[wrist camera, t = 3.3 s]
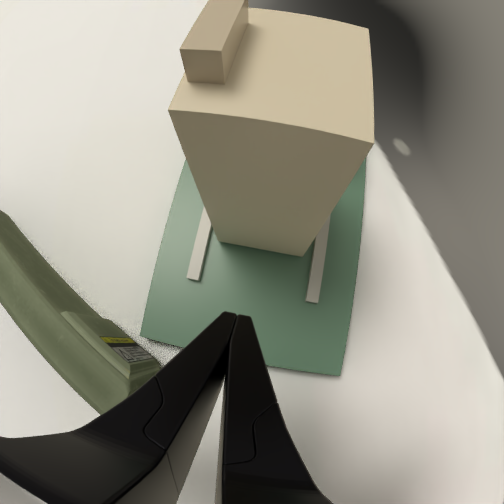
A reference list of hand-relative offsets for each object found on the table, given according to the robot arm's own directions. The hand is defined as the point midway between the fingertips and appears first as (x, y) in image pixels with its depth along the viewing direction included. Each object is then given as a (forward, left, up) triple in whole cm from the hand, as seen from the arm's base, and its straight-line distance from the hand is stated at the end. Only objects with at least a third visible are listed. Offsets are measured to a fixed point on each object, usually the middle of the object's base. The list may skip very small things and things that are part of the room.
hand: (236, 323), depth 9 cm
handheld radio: (-15, +4, -10) cm, 19 cm away
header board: (+2, +8, -10) cm, 12 cm away
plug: (+2, +7, -8) cm, 11 cm away
